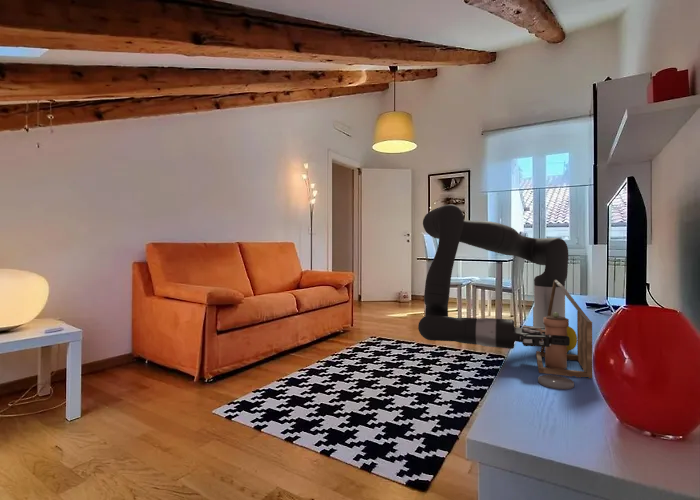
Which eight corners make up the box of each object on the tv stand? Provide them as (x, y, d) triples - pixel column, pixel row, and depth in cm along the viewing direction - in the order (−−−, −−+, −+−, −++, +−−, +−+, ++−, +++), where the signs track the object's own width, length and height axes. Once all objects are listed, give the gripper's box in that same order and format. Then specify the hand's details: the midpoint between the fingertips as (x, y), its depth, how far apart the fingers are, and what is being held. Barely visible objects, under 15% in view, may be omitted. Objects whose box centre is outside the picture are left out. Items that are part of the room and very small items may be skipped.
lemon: (556, 348, 113) (556, 322, 113) (578, 351, 110) (577, 324, 110) (553, 353, 109) (553, 325, 109) (576, 356, 106) (576, 327, 106)
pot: (538, 363, 98) (538, 310, 98) (559, 362, 99) (558, 310, 99) (552, 370, 93) (552, 314, 93) (573, 369, 93) (573, 313, 93)
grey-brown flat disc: (531, 378, 88) (531, 375, 88) (560, 377, 89) (560, 374, 89) (550, 390, 81) (550, 386, 81) (581, 388, 82) (581, 384, 82)
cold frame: (536, 355, 107) (535, 279, 107) (581, 359, 102) (581, 280, 102) (539, 372, 92) (538, 284, 92) (592, 378, 88) (592, 285, 88)
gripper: (493, 323, 95) (571, 329, 88) (496, 314, 108) (564, 318, 101) (493, 353, 95) (571, 361, 88) (496, 340, 108) (565, 346, 101)
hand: (567, 338), depth 95 cm, fingers closed on pot, 4 cm apart
